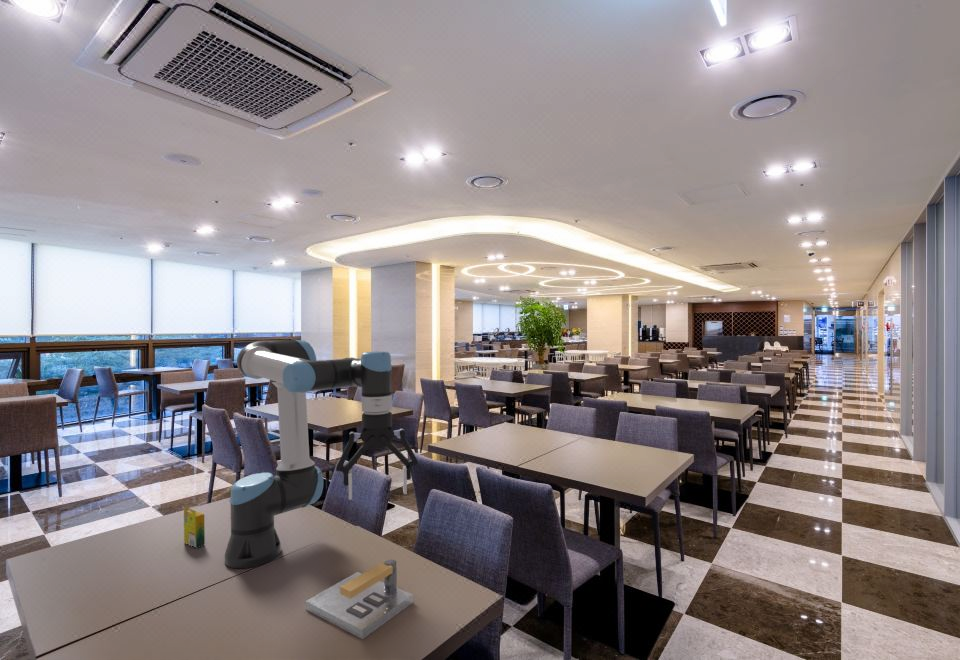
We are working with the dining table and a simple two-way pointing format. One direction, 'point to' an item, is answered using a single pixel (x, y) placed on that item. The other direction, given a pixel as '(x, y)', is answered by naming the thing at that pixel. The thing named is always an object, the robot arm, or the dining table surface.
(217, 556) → the dining table surface
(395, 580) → the hinge post
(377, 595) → the label
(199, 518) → the crayon box
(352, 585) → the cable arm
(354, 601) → the plate
